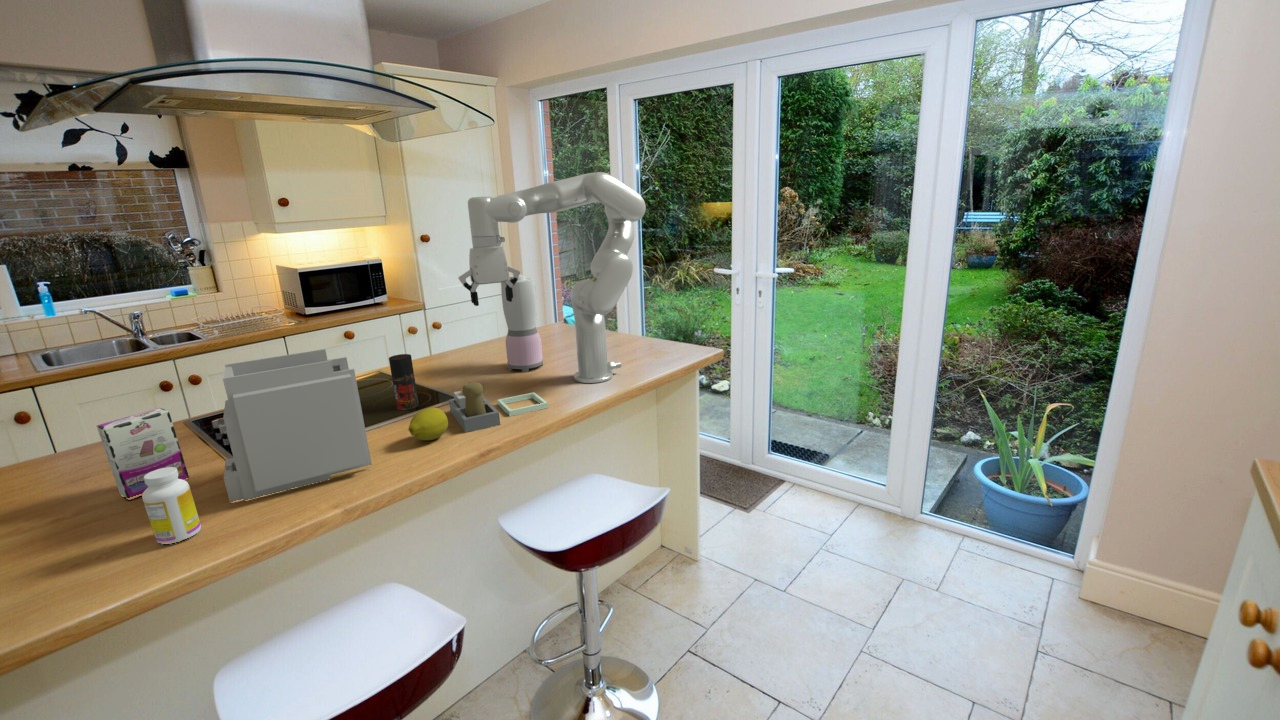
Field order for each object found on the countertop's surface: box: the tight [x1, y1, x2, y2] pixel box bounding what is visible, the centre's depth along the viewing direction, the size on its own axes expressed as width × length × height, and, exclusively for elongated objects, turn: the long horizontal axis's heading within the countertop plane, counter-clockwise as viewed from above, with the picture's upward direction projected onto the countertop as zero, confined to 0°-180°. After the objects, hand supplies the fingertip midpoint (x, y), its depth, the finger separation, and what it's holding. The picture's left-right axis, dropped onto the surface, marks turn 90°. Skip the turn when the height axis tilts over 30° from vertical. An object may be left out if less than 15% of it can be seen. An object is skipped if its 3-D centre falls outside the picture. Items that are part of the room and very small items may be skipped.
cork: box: [462, 382, 486, 418], centre depth 152 cm, size 6×6×11 cm
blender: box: [500, 274, 544, 373], centre depth 199 cm, size 16×12×32 cm
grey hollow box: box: [448, 395, 501, 433], centre depth 157 cm, size 18×9×4 cm, turn 30°
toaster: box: [222, 348, 373, 503], centre depth 124 cm, size 17×27×26 cm, turn 123°
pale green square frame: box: [497, 391, 549, 417], centre depth 164 cm, size 11×11×2 cm
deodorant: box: [388, 353, 419, 411], centre depth 166 cm, size 6×6×15 cm
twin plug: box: [453, 387, 484, 408], centre depth 160 cm, size 6×6×7 cm
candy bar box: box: [96, 407, 190, 498], centre depth 123 cm, size 11×5×16 cm, turn 148°
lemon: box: [408, 407, 449, 441], centre depth 143 cm, size 11×8×8 cm
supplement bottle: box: [141, 467, 202, 544], centre depth 104 cm, size 7×7×13 cm
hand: (493, 303), depth 166 cm, fingers open, 9 cm apart
